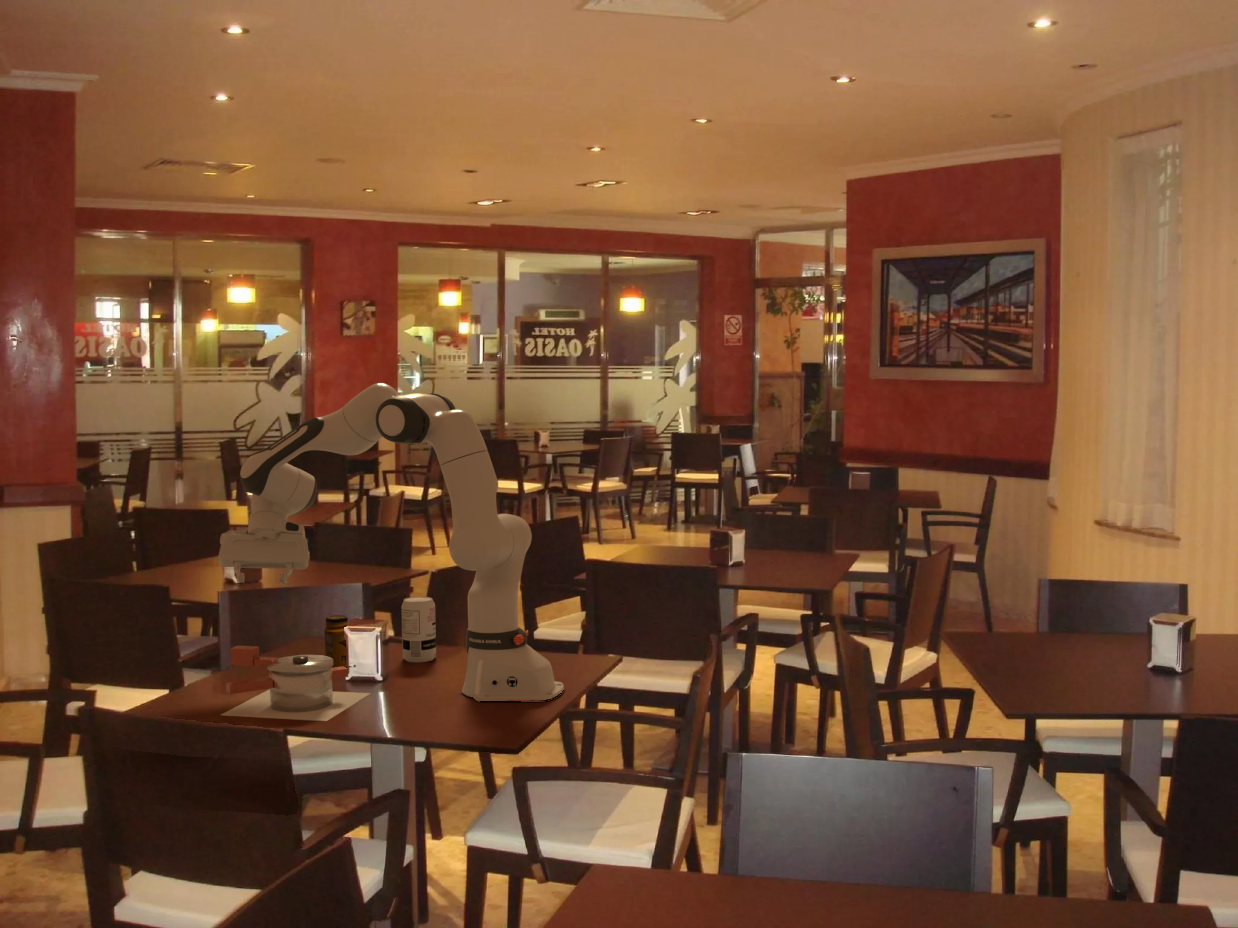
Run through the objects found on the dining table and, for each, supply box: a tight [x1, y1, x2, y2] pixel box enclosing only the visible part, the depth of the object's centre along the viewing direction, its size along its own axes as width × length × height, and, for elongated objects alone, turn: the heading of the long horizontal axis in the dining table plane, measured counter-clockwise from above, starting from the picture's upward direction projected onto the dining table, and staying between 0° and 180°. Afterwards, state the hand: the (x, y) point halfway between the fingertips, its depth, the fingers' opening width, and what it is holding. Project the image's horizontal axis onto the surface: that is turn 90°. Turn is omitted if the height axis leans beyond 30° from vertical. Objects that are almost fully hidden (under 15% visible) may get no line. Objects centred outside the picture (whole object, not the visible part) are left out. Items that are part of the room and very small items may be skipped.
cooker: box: [225, 666, 349, 712], centre depth 272 cm, size 20×20×8 cm
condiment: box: [324, 614, 349, 667], centre depth 309 cm, size 7×8×12 cm
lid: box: [229, 645, 333, 675], centre depth 274 cm, size 22×14×4 cm, turn 77°
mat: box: [220, 688, 372, 722], centre depth 274 cm, size 24×22×1 cm
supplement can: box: [401, 596, 437, 664], centre depth 315 cm, size 8×8×15 cm
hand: (261, 581), depth 294 cm, fingers open, 8 cm apart
